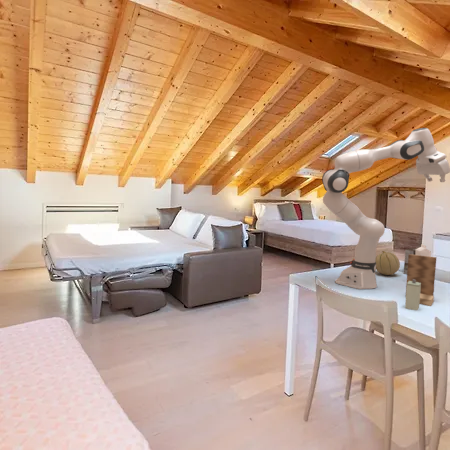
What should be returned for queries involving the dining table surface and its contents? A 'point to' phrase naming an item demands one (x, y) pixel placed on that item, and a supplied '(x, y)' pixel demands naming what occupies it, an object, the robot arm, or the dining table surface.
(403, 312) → the dining table surface
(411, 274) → the brown tall block
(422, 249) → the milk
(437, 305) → the dining table surface
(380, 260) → the cantaloupe
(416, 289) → the olive rectangular canister
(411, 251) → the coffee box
